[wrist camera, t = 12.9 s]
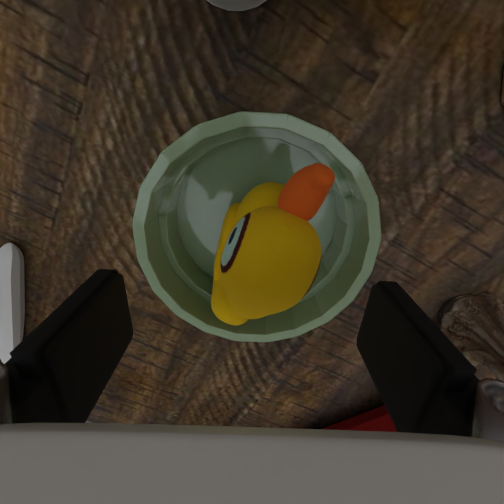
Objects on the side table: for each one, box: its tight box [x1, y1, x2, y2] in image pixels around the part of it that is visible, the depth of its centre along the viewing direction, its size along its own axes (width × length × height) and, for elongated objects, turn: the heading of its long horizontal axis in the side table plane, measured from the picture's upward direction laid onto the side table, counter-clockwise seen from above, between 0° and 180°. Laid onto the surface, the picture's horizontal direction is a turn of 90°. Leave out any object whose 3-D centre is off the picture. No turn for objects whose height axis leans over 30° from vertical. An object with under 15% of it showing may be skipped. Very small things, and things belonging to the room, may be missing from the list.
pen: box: [0, 243, 25, 364], centre depth 24 cm, size 2×14×2 cm, turn 161°
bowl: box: [132, 111, 381, 342], centre depth 18 cm, size 14×14×6 cm
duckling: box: [211, 163, 335, 325], centre depth 16 cm, size 11×5×10 cm, turn 155°
